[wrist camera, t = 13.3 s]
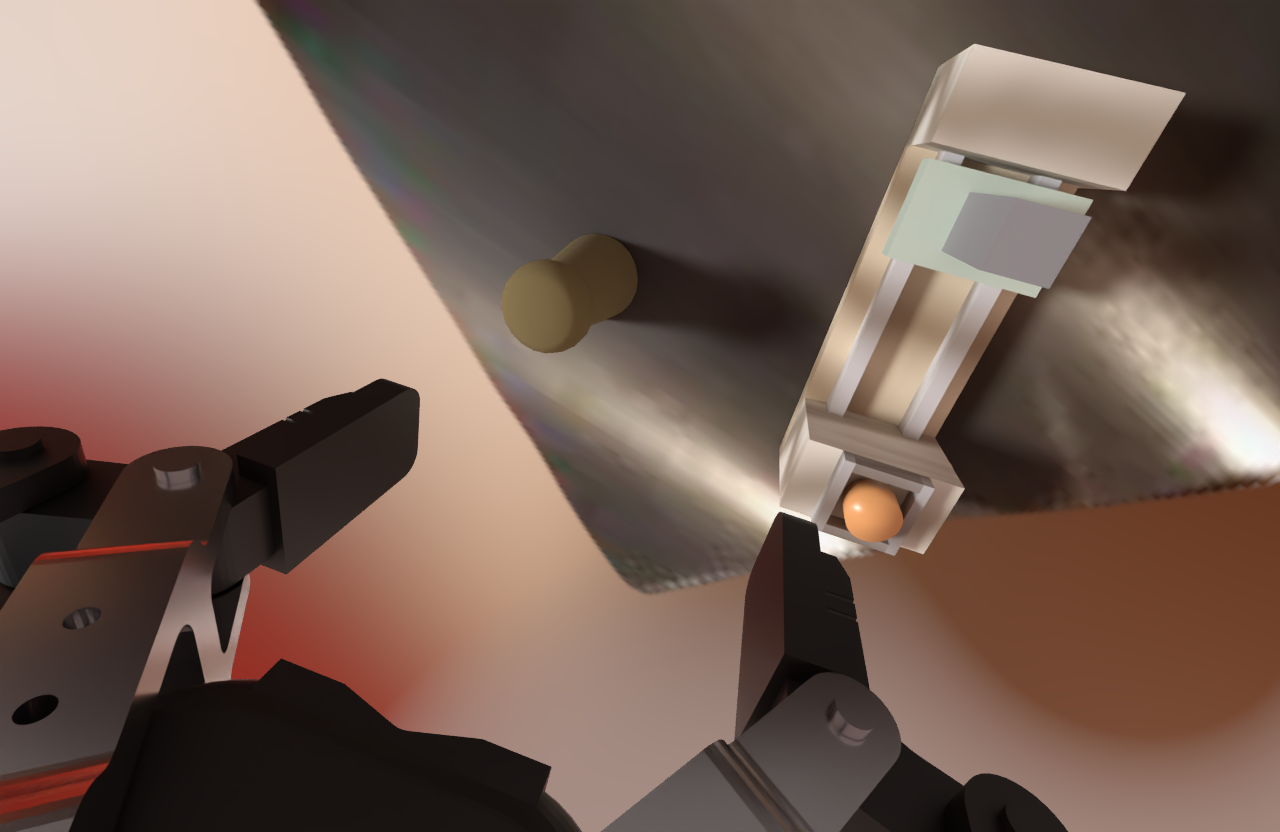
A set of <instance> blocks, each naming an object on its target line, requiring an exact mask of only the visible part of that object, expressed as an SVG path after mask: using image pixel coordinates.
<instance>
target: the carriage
mask: <svg viewBox="0 0 1280 832" xmlns="http://www.w3.org/2000/svg"><path fill="white" fill-rule="evenodd" d="M1092 202H1093V200H1091V199H1087V198H1084V197H1080V196H1076V195H1072V194H1068V193H1064V192H1060V191H1056V190H1052V189H1048V188H1045V187H1041V186H1037V185H1033V184H1029V183H1025V182H1021V181H1017V180H1013V179H1009V178H1006V177H1002V176H998V175H994V174H990V173H986V172H982V171H978V170H974V169H970V168H967V167H963V166H959V165H955V164H951V163H947V162H943V161H939V160H935V159H931V158H924V159H922V162H921V164H920V166H919V168H918V171H917V173H916V175H915V178H914V180H913V182H912V185H911V187H910V189H909V191H908V194H907V196H906V198H905V201H904V203H903V205H902V208H901V210H900V212H899V214H898V217H897V219H896V221H895V224H894V226H893V228H892V230H891V233H890V235H889V237H888V240H887V242H886V244H885V247H884V249H883V251H882V253H883V254H884V255H885V256H886V257H889V258H893V259H897V260H900V261H904V262H907V263H911V264H915V265H918V266H922V267H925V268H929V269H933V270H936V271H940V272H943V273H947V274H951V275H954V276H958V277H961V278H965V279H969V280H972V281H976V282H980V283H983V284H987V285H990V286H994V287H998V288H1001V289H1005V290H1008V291H1012V292H1016V293H1019V294H1023V295H1026V296H1030V297H1034V298H1036V297H1037V295H1038V293H1039V292H1040V290H1041V288H1042V287H1043V288H1047V289H1049V288H1050V287H1051V285H1052V283H1053V282H1054V280H1055V278H1056V277H1057V275H1058V273H1059V272H1060V270H1061V268H1062V267H1063V265H1064V263H1065V262H1066V260H1067V258H1068V257H1069V255H1070V253H1071V252H1072V250H1073V248H1074V247H1075V245H1076V243H1077V242H1078V240H1079V238H1080V237H1081V235H1082V233H1083V232H1084V230H1085V228H1086V226H1087V225H1088V223H1089V221H1090V220H1091V218H1092V217H1089V216H1085V214H1086V212H1087V210H1088V209H1089V207H1090V205H1091V204H1092Z"/></svg>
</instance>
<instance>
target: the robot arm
mask: <svg viewBox="0 0 1280 832" xmlns="http://www.w3.org/2000/svg"><path fill="white" fill-rule="evenodd" d="M419 407H420V397H419V393H418V392H417V391H416V390H415V389H413V388H410V387H407V386H404V385H401V384H398V383H395V382H392V381H389V380H386V379H378V380H376V381H374V382H372V383H370V384H368V385H367V386H364V387H363V388H361V389H359V390H357V391H355V392H349V393H345V394H340V395H336V396H332V397H328V398H324V399H322V400H320V401H318V402H316V403H314V404H312V405H310V406H308V407H306V408H304V410H303V412H301V411H299V412H297V413H295V414H293V415H291V416H289V417H287V418H286V420H285V421H284V420H281V421H279V422H277V423H275V424H273V425H271V426H269V427H267V428H265V429H263V430H261V431H259V432H257V433H255V434H253V435H251V436H249V437H247V438H245V439H244V440H241V441H240V442H237V443H236V444H234V445H232V446H230V447H228V448H226V449H224V450H222V451H220V450H217V449H214V448H209V447H202V446H183V447H174V448H168V449H163V450H159V451H155V452H152V453H149V454H147V455H144V456H142V457H140V458H138V459H136V460H134V461H133V462H131V463H130V464H121V463H112V462H103V461H94V460H86V458H85V454H84V451H83V448H82V444H81V441H80V438H79V437H78V436H77V435H76V434H74V433H73V432H71V431H68V430H65V429H61V428H54V427H21V428H13V429H7V430H1V431H0V832H582V831H581V830H580V828H579V827H578V826H577V824H576V823H575V821H574V820H573V818H572V817H571V816H570V815H569V814H568V813H567V812H566V811H565V809H564V808H563V807H562V806H561V805H560V804H559V803H558V802H557V801H556V800H554V799H553V798H552V797H551V796H550V795H548V794H547V793H546V792H545V789H546V785H547V782H548V778H549V774H550V771H551V766H548V765H546V764H543V763H540V762H538V761H535V760H533V759H530V758H528V757H526V756H523V755H521V754H518V753H515V752H513V751H510V750H508V749H505V748H503V747H500V746H498V745H496V744H493V743H491V742H488V741H486V740H483V739H475V738H466V737H457V736H449V735H440V734H429V733H421V732H412V731H405V730H402V729H399V728H397V727H396V726H394V725H393V724H392V723H391V722H389V721H388V720H387V719H385V717H383V716H382V715H381V714H380V713H379V712H377V711H376V710H375V709H374V708H373V707H371V706H370V705H369V704H368V703H367V702H365V701H364V700H363V699H362V698H361V697H359V696H358V695H357V694H356V693H355V692H354V691H352V690H351V689H350V688H349V687H347V686H346V685H345V684H343V683H341V682H338V681H336V680H333V679H331V678H328V677H326V676H323V675H321V674H318V673H316V672H313V671H311V670H308V669H306V668H303V667H301V666H298V665H296V664H293V663H291V662H288V661H286V660H283V659H280V660H279V661H278V662H277V663H276V664H275V665H274V666H273V667H272V668H271V669H270V670H269V671H268V672H267V673H266V674H265V675H264V676H263V677H262V678H261V679H260V680H257V679H234V680H231V670H232V665H233V660H234V656H235V651H236V647H237V642H238V637H239V633H240V628H241V624H242V620H243V615H244V610H245V606H246V602H247V597H248V592H249V588H250V578H249V573H250V572H251V571H253V570H254V569H255V568H257V566H259V565H260V564H261V565H263V566H266V567H269V568H271V569H274V570H276V571H279V572H281V573H284V574H287V573H289V572H290V571H291V570H292V569H293V568H295V567H296V566H297V565H298V564H300V563H301V562H302V561H303V560H304V559H306V558H307V557H308V556H309V555H310V554H312V553H313V552H314V551H315V550H316V549H318V548H319V547H320V546H321V545H323V544H324V543H325V542H326V541H327V540H329V539H330V538H331V537H332V536H333V535H335V534H336V533H337V532H338V531H339V530H341V529H342V528H343V527H344V526H346V525H347V524H348V523H349V522H350V521H351V520H353V519H354V518H355V517H356V516H357V515H359V514H360V513H361V512H362V511H364V510H365V509H366V508H367V507H368V506H370V505H371V504H372V503H373V502H375V501H376V500H377V499H378V498H379V497H380V496H382V495H383V494H384V493H385V492H387V491H388V490H389V489H390V488H391V487H393V486H394V485H395V484H396V483H398V482H399V481H400V480H401V479H402V478H403V477H405V476H406V474H407V473H408V472H409V471H410V469H411V468H412V466H413V464H414V461H415V459H416V455H417V449H418V430H419ZM853 600H854V598H853V593H852V587H851V582H850V578H849V576H848V575H847V573H846V571H845V570H844V568H843V567H842V565H841V563H840V562H839V560H838V559H837V557H835V556H832V555H829V554H826V553H823V552H820V543H819V534H818V527H817V524H816V523H813V522H810V521H807V520H804V519H801V518H798V517H795V516H792V515H789V514H786V513H783V512H779V513H778V514H777V516H776V518H775V519H774V522H773V524H772V526H771V528H770V531H769V533H768V535H767V537H766V539H765V542H764V544H763V546H762V548H761V551H760V553H759V555H758V557H757V560H756V562H755V564H754V566H753V569H752V572H751V575H750V578H749V581H748V585H747V590H746V595H745V607H744V621H743V634H742V647H741V660H740V674H739V687H738V701H737V713H736V727H735V740H734V742H732V743H730V744H729V745H727V744H726V742H725V741H724V740H718V741H716V742H714V743H712V744H711V745H709V746H708V747H706V748H705V749H704V750H702V751H701V752H700V753H699V754H698V755H696V756H695V757H694V758H692V759H691V760H690V761H689V762H687V763H686V764H685V765H684V766H682V767H681V768H680V769H679V770H677V771H676V772H675V773H674V774H672V775H671V776H670V777H669V778H667V779H666V780H665V781H664V782H663V783H661V784H660V785H659V786H657V787H656V788H655V789H654V790H652V791H651V792H650V793H649V794H648V795H646V796H645V797H644V798H642V799H641V800H640V801H639V802H638V803H636V804H635V805H634V806H632V807H631V808H630V809H629V810H627V811H626V812H625V813H624V814H622V815H621V816H620V817H619V818H617V819H616V820H615V821H614V822H612V823H611V824H610V825H609V826H607V827H606V828H605V829H604V830H602V831H601V832H1068V831H1067V830H1066V828H1065V827H1064V825H1063V824H1062V823H1061V822H1060V821H1059V819H1057V817H1056V816H1055V815H1054V814H1053V813H1052V812H1051V811H1050V810H1049V808H1048V807H1047V806H1046V805H1045V804H1043V803H1042V802H1041V801H1040V800H1039V799H1038V798H1037V797H1035V796H1034V795H1033V794H1032V793H1030V792H1029V791H1028V790H1026V789H1024V788H1023V787H1022V786H1020V785H1018V784H1017V783H1015V782H1013V781H1011V780H1009V779H1007V778H1004V777H1001V776H998V775H994V774H979V775H976V776H974V777H972V778H971V779H970V780H969V781H968V782H967V783H966V784H965V785H964V786H963V785H962V784H960V783H958V782H957V781H955V780H954V779H953V778H951V777H950V776H948V775H947V774H945V773H944V772H942V771H941V770H939V769H938V768H936V767H935V766H933V765H932V764H930V763H929V762H927V761H925V760H924V759H923V758H921V757H920V756H918V755H917V754H916V753H914V752H913V751H911V750H910V749H909V748H908V747H907V746H906V745H905V744H903V743H902V742H901V738H900V733H899V730H898V727H897V724H896V722H895V720H894V718H893V716H892V715H891V713H890V712H889V710H888V708H887V707H886V706H885V705H884V704H883V702H882V701H881V700H880V699H879V698H878V697H877V696H876V695H875V694H874V693H873V692H872V691H870V688H869V683H868V677H867V671H866V666H865V661H864V654H863V649H862V643H861V638H860V632H859V626H858V622H856V619H857V615H856V609H855V604H853Z"/></svg>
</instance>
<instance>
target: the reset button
mask: <svg viewBox="0 0 1280 832" xmlns="http://www.w3.org/2000/svg"><path fill="white" fill-rule="evenodd" d="M842 507H843V512H844V518H845V523H846V526H847V529H848V530H849V532H850V533H851V534H852V535H853V536H855V537H856V538H858V539H860V540H863V541H867V542H881V541H885V540H888V539H890V538H892V537H893V536H894V535H896V534H897V533H898V532H899V530H900V529H901V527H902V524H903V515H902V512H901V509H900V507H899V504H898V501H897V498H896V495H895V493H894V491H893V489H892V488H891V487H890V486H889V485H888V484H886V483H884V482H881V481H878V480H874V479H862V480H858V481H856V482H854V483H852V484H850V485H849V486H848V487H847V488H846V489H845V491H844V492H843V495H842Z"/></svg>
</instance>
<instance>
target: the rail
mask: <svg viewBox="0 0 1280 832" xmlns="http://www.w3.org/2000/svg"><path fill="white" fill-rule="evenodd" d="M1185 94H1186V93H1183V92H1179V91H1175V90H1170V89H1166V88H1162V87H1158V86H1153V85H1149V84H1145V83H1140V82H1136V81H1132V80H1128V79H1123V78H1119V77H1115V76H1110V75H1106V74H1102V73H1097V72H1093V71H1089V70H1085V69H1080V68H1076V67H1072V66H1067V65H1063V64H1059V63H1054V62H1050V61H1046V60H1042V59H1037V58H1033V57H1029V56H1024V55H1020V54H1016V53H1012V52H1007V51H1003V50H999V49H994V48H990V47H986V46H981V45H977V44H973V45H972V46H970V47H969V48H967V49H966V50H964V51H962V52H961V53H959V54H958V55H956V56H954V57H953V58H951V59H950V60H948V61H947V62H945V63H943V64H942V65H940V66H939V67H938V69H937V72H936V74H935V76H934V79H933V81H932V84H931V86H930V88H929V91H928V93H927V96H926V98H925V100H924V103H923V105H922V108H921V110H920V112H919V115H918V117H917V120H916V122H915V124H914V127H913V129H912V131H911V134H910V136H909V139H908V141H907V143H906V146H905V148H904V151H903V153H902V155H901V158H900V160H899V163H898V165H897V167H896V170H895V172H894V175H893V177H892V179H891V182H890V184H889V187H888V189H887V191H886V194H885V196H884V199H883V201H882V203H881V206H880V208H879V210H878V213H877V215H876V218H875V220H874V222H873V225H872V227H871V230H870V232H869V234H868V237H867V239H866V242H865V244H864V246H863V249H862V251H861V254H860V256H859V258H858V261H857V263H856V266H855V268H854V270H853V273H852V275H851V278H850V280H849V282H848V285H847V287H846V289H845V292H844V294H843V297H842V299H841V301H840V304H839V306H838V309H837V311H836V313H835V316H834V318H833V321H832V323H831V325H830V328H829V330H828V333H827V335H826V337H825V340H824V342H823V345H822V347H821V349H820V352H819V354H818V357H817V359H816V361H815V364H814V366H813V368H812V371H811V373H810V376H809V378H808V380H807V383H806V385H805V388H804V390H803V392H802V395H801V397H800V400H799V402H798V404H797V407H796V409H795V412H794V414H793V416H792V419H791V421H790V424H789V426H788V428H787V431H786V433H785V436H784V438H783V440H782V443H781V445H780V447H779V456H780V507H783V508H786V509H789V510H792V511H795V512H798V513H801V514H804V515H807V516H810V517H811V521H812V522H813V523H816V524H817V527H818V530H819V531H822V532H825V533H828V534H831V535H834V536H837V537H840V538H843V539H846V540H849V541H852V542H855V543H858V544H861V545H864V546H867V547H870V548H873V549H876V550H879V551H882V552H885V553H888V554H891V555H894V556H895V554H896V553H897V551H898V549H899V548H900V546H901V547H904V548H907V549H910V550H913V551H916V552H919V553H922V554H924V552H925V551H926V549H927V547H928V546H929V544H930V543H931V541H932V539H933V538H934V536H935V535H936V533H937V532H938V530H939V529H940V527H941V526H942V524H943V522H944V521H945V519H946V518H947V516H948V514H949V513H950V511H951V510H952V508H953V507H954V505H955V503H956V502H957V500H958V499H959V497H960V496H961V494H962V492H963V491H964V489H965V488H964V486H963V485H962V483H961V481H960V480H959V478H958V476H957V475H956V473H955V471H954V469H953V467H952V465H951V464H950V463H949V461H948V459H947V457H946V456H945V454H944V452H943V451H942V449H941V447H940V445H939V444H938V442H937V440H936V439H935V437H936V435H937V433H938V432H939V430H940V428H941V426H942V425H943V423H944V421H945V419H946V418H947V416H948V414H949V412H950V411H951V409H952V407H953V405H954V404H955V402H956V400H957V398H958V397H959V395H960V393H961V391H962V390H963V388H964V386H965V384H966V383H967V381H968V379H969V377H970V376H971V374H972V372H973V370H974V369H975V367H976V365H977V363H978V362H979V360H980V358H981V356H982V355H983V353H984V351H985V349H986V348H987V346H988V344H989V342H990V341H991V339H992V337H993V335H994V334H995V332H996V330H997V328H998V327H999V325H1000V323H1001V321H1002V320H1003V318H1004V316H1005V314H1006V313H1007V311H1008V309H1009V307H1010V306H1011V304H1012V302H1013V300H1014V299H1015V297H1016V295H1017V293H1016V292H1012V291H1008V290H1005V289H1001V288H998V287H994V286H990V285H987V284H983V283H980V282H976V281H972V280H969V279H965V278H961V277H958V276H954V275H951V274H947V273H943V272H940V271H936V270H933V269H929V268H925V267H922V266H918V265H915V264H911V263H907V262H904V261H900V260H897V259H893V258H889V257H886V256H885V255H884V254H883V253H882V251H883V249H884V247H885V244H886V242H887V240H888V237H889V235H890V233H891V230H892V228H893V226H894V224H895V221H896V219H897V217H898V214H899V212H900V210H901V208H902V205H903V203H904V201H905V198H906V196H907V194H908V191H909V189H910V187H911V185H912V182H913V180H914V178H915V175H916V173H917V171H918V168H919V166H920V164H921V162H922V159H924V158H931V159H935V160H939V161H943V162H947V163H951V164H955V165H959V166H963V167H967V168H970V169H974V170H978V171H982V172H986V173H990V174H994V175H998V176H1002V177H1006V178H1009V179H1013V180H1017V181H1021V182H1025V183H1029V184H1033V185H1037V186H1041V187H1045V188H1048V189H1052V190H1056V191H1060V192H1064V193H1068V194H1072V195H1074V194H1075V192H1076V190H1077V188H1088V189H1103V190H1119V191H1126V190H1127V189H1128V187H1129V185H1130V184H1131V182H1132V180H1133V179H1134V177H1135V175H1136V174H1137V172H1138V171H1139V169H1140V167H1141V166H1142V164H1143V162H1144V161H1145V159H1146V158H1147V156H1148V154H1149V153H1150V151H1151V149H1152V148H1153V146H1154V144H1155V143H1156V141H1157V140H1158V138H1159V136H1160V135H1161V133H1162V131H1163V130H1164V128H1165V126H1166V125H1167V123H1168V122H1169V120H1170V118H1171V117H1172V115H1173V113H1174V112H1175V110H1176V109H1177V107H1178V105H1179V104H1180V102H1181V100H1182V99H1183V97H1184V95H1185ZM862 479H874V480H878V481H881V482H884V483H886V484H888V485H889V486H890V487H891V488H892V489H893V491H894V493H895V495H896V498H897V501H898V504H899V507H900V509H901V512H902V515H903V524H902V527H901V529H900V530H899V532H898V533H897V534H896V535H894V536H893V537H892V538H890V539H888V540H885V541H881V542H867V541H863V540H860V539H858V538H856V537H855V536H853V535H852V534H851V533H850V532H849V530H848V529H847V526H846V523H845V518H844V512H843V507H842V495H843V492H844V491H845V489H846V488H847V487H848V486H849V485H850V484H852V483H854V482H856V481H858V480H862Z"/></svg>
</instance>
